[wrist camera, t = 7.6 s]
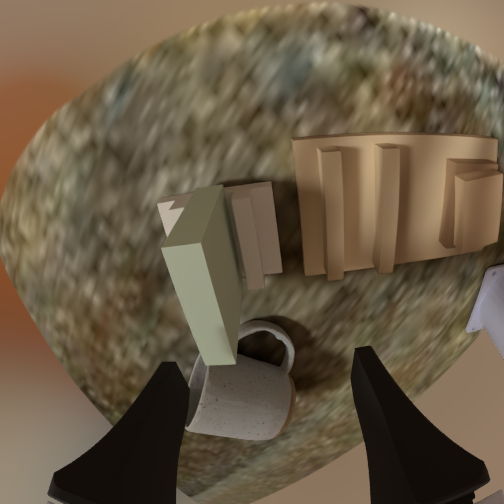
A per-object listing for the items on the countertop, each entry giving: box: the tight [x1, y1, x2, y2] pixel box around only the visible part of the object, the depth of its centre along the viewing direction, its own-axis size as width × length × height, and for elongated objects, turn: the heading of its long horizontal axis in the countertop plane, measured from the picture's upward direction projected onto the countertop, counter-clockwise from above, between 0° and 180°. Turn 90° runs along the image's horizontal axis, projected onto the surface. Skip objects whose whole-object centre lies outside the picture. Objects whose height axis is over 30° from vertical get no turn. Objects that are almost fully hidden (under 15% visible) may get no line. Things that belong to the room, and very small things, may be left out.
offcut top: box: [453, 168, 503, 253], centre depth 15 cm, size 4×5×1 cm
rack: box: [291, 132, 498, 281], centre depth 17 cm, size 15×9×2 cm, turn 99°
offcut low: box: [438, 158, 498, 249], centre depth 16 cm, size 4×6×1 cm, turn 9°
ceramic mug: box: [185, 320, 296, 440], centre depth 23 cm, size 11×8×8 cm
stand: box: [157, 181, 282, 290], centre depth 19 cm, size 7×6×2 cm
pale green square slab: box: [161, 184, 243, 365], centre depth 16 cm, size 2×7×7 cm, turn 9°
